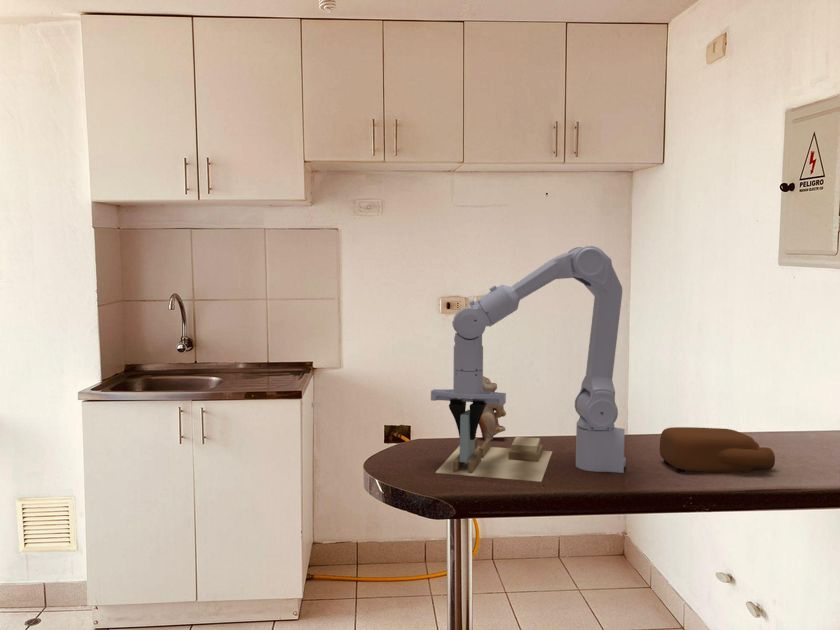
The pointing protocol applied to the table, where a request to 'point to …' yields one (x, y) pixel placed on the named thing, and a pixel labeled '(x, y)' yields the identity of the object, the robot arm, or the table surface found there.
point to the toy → (713, 450)
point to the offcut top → (525, 445)
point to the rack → (495, 464)
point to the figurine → (491, 414)
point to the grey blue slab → (466, 438)
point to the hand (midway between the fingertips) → (467, 438)
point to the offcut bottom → (525, 455)
